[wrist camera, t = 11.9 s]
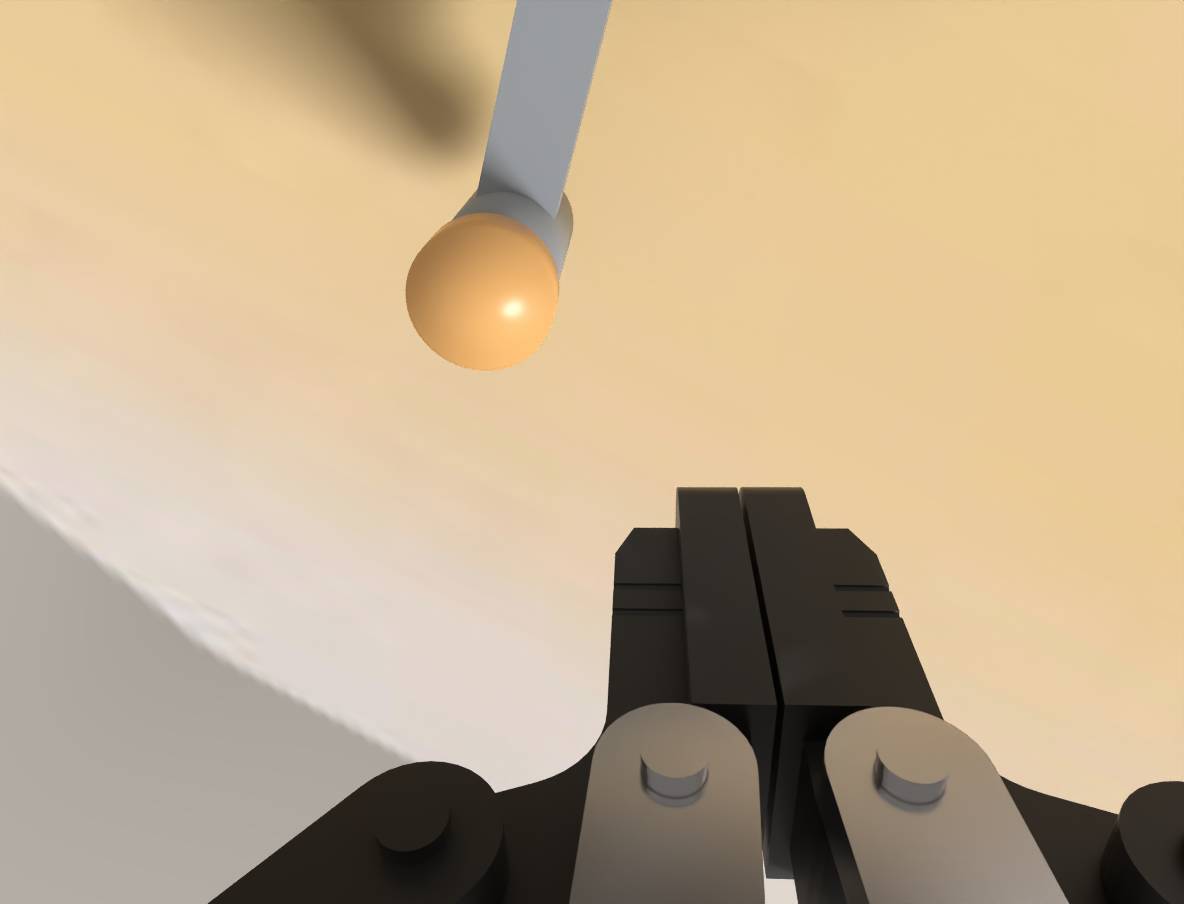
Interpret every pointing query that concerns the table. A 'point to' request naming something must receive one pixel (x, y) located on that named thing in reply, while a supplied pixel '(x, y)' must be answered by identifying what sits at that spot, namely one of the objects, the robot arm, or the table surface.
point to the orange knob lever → (513, 199)
